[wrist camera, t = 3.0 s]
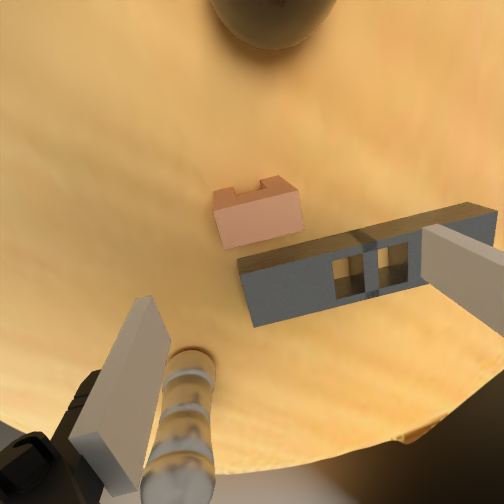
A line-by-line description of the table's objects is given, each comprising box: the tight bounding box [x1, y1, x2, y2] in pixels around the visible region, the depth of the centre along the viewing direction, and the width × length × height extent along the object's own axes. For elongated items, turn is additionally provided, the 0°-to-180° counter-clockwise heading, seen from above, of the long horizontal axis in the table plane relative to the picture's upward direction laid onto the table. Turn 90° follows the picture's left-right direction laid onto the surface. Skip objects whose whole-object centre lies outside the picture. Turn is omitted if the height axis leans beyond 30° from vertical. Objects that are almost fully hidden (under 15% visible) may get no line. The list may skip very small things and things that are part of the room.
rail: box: [237, 202, 498, 328], centre depth 33 cm, size 28×7×4 cm, turn 103°
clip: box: [213, 175, 304, 250], centre depth 27 cm, size 7×4×8 cm, turn 103°
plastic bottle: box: [140, 350, 216, 504], centre depth 30 cm, size 6×7×20 cm
